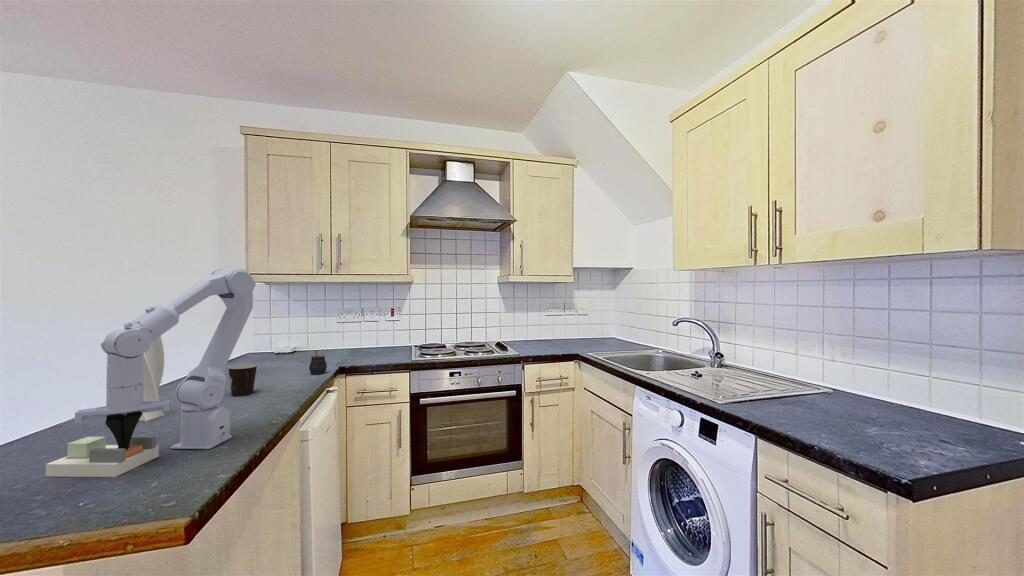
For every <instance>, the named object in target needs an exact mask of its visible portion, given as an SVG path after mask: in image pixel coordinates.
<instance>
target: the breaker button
mask: <svg viewBox="0 0 1024 576" xmlns="http://www.w3.org/2000/svg"><path fill="white" fill-rule="evenodd" d="M115 449H119V448H115ZM140 452H142V445H130V447H129V448H128V449H127V450H125V459H126V458H128V457H131V456H133V455H135V454H137V453H140Z"/></svg>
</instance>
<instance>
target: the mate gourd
mask: <svg viewBox="0 0 1024 576" xmlns="http://www.w3.org/2000/svg"><path fill="white" fill-rule="evenodd" d="M314 352H315V355H312V356H311V357H310V358H311V359H310V363H309V366H308V369H309V372H310V374H311V375H315V376H316V375H323V374H324V373H325V372H326V370H327V368H328V364H327V362H326V356H325V355H323V354H322V355H318V352H317V350H316V351H314Z"/></svg>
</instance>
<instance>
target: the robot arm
mask: <svg viewBox="0 0 1024 576" xmlns="http://www.w3.org/2000/svg"><path fill="white" fill-rule="evenodd" d="M256 285H257V283H256V282H255V280H254V278H253V276H252V274H251V273H250V272H249V271H248V270H246V269H243V268H236V269H215V270H213V271H211V273H209V274H206V275H204V276H202V278H201V279H200V280H198V281H197V282H196V283H194V284H193V285H191V286H190V287H189V288H188V289H186V291H185V290H184V292H183V293H181V294H180V295H179V296H178V297H176V298H175V299H173V300H172V301H170V302H169V303H167V304H166V305H165V304H164V305H162V304H157V305H155V306H147V307H146V308H145V309H144V311H145V312H144V313H143V314H141V315H139V316H138V317H137V318H135V319H134V320H132V321H126V322H125V323H124V324H123V328H120V329H115V330H113V331H110V332H109V333H108V334H106V336H105V338H104V339H103V341H102V342H101V343H100V348H101V350H102V351H103V352H104V353H105V354H106V357H107V359H106V361H107V362H106V395H105V396H106V399H105V400H106V402H105V403H106V404H105V405H104V406H98V407H91V408H86V409H78V410H76V411H75V412H74V423H77V422H83V421H89V420H95V419H103V418H104V419H105V421H104V422H105V426H106V427H108V429H109V430H110V431H111V433H112V434H113V435H112V436H114V439H115V441H116V445H118V448H119V449H125V450H127V449H128V448H129V447H130V441H131V437H132V436H133V435H134V431H135V430H136V428H137V425H138V423H139V422H140V421H139V419H140V417H141V416H142V414H143V413H145V412H153V411H161V410H162V411H163V412H165V411H166V412H167V411H169V410H170V408H171V406H170V403H171V402H170V401H171V400H170V399H165V400H160V401H145V402H143V373H144V353H145V352H147V351H148V349H149V347H150V345H151V342H153V341H154V340H155V339H157V338H158V337H159V336H161V337H162V335H164V334H165V333H166V332H168V331H170V329H172V328H173V327H175V326H176V325H177V324H178V323H179V320H180V316H181V315H182V314H184V313H185V312H187V311H188V310H190V309H192V308H193V307H195V306H197V305H198V304H199V303H201V302H202V301H204V300H205V299H207V298H209V297H211V296H217V297H219V298H220V299H221V300H222V302H223V303H224V305H225V311H224V313H223V314H222V317H221V318H220V321H219V323H218V325H217V327H216V329H215V331H214V333H213V335H212V337H211V339H210V341H209V343H208V346H207V348H206V350H205V351H204V353H203V355H202V358H201V359H200V362H199V364H198V365H197V366H196V367H194V368H193V369H191V370H190V371H189V372H188V374H187V375H186V377H185V378H184V380H182V381H181V382H179V384H178V385H177V386H176V388H175V392H174V393H175V394H174V395H175V398H176V400H177V401H178V402H179V403H181V404H180V405H181V406H180V441H179V442H178V443H176V444H173V445H171V446H170V449H173V450H175V449H176V450H177V449H178V450H180V449H181V450H182V449H183V450H209V449H210V450H211V449H212V448H214V447H216V446H218V445H220V444H222V443H224V442H226V441H227V440H230V439H231V438H233V435H231V412H230V409H228V407H223V406H220V405H219V403H220V402H222V400H223V398H224V396H225V385H226V382H227V380H228V379H227V377H226V374H225V372H224V370H225V368H226V366H227V364H228V362H229V360H230V358H231V355H232V354H233V351H234V349H235V347H236V345H237V342H238V340H239V338H240V336H241V334H242V331H243V330H244V329H245V328H244V327H245V325H246V323H247V321H248V318H249V317H250V315H251V312H252V310H253V307H254V289H255V288H256Z"/></svg>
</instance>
